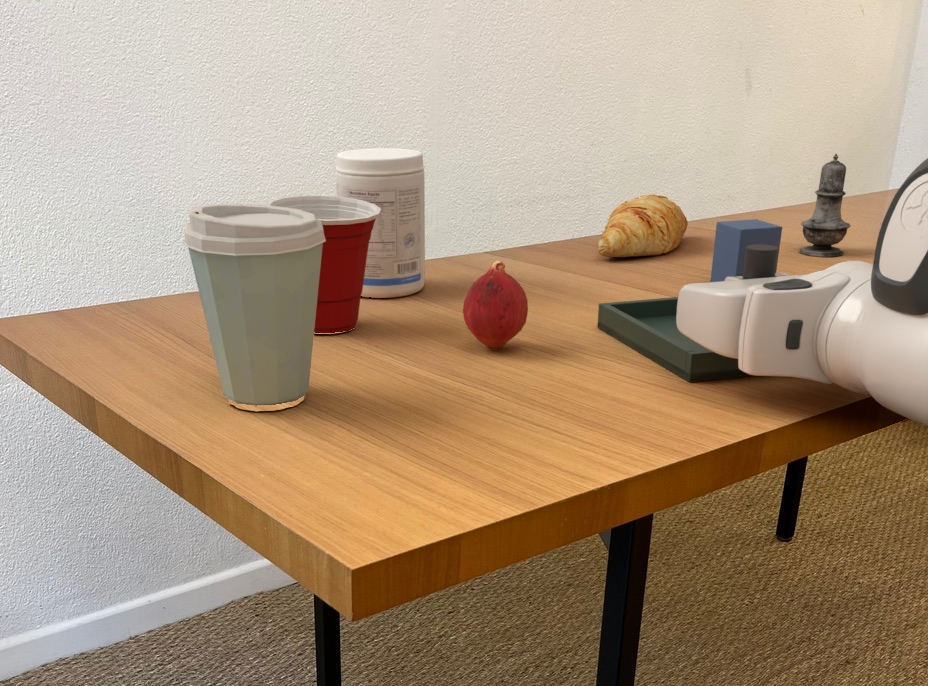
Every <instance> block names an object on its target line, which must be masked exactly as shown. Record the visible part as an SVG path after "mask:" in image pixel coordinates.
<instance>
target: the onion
mask: <svg viewBox="0 0 928 686" xmlns="http://www.w3.org/2000/svg"><path fill="white" fill-rule="evenodd" d="M505 268H506V264H505V263H504V262H503V261H501V260H496V261H494V262H493V263H492V264H491V265H490V267H489V268H488V270H487V271H486V273H485V274H483V275H480V277H478V278H477V279H476V280H475V281H474V282H473V283H472V285H471V286H470V287H469V289H468V291H467V293H466V295H465V298H464V301H463V306H462V314H463V322H464V323H465V325H466V327H467V329H468V330H469V332H470V333H471V334H472V335H473V337H474V338H476V340H477V341H479V342H480V343H482V344H483V345H485V346H486V347H488V348H489V349H490V350H494V349H495V350H500V349H502V348H503V347H504V345H506V344H507V343H508V342H509V341H511V340H513V338H515V337H516V336H517V335H518V334H519V333H520V332H521V331H522V330H523V328H524V326H525V325H526V324H527V323H526V322H527V319H528V312H529V304H528V303H529V302H528V301H529V300H528V297H527V295H526V291H524V288H523V287H522V285H521V284H520V283H519V282H518V281H517V280H516V279H515V278H514V277H513V276H512V275H510V274H509V273H507V272H506V270H505Z"/></svg>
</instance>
